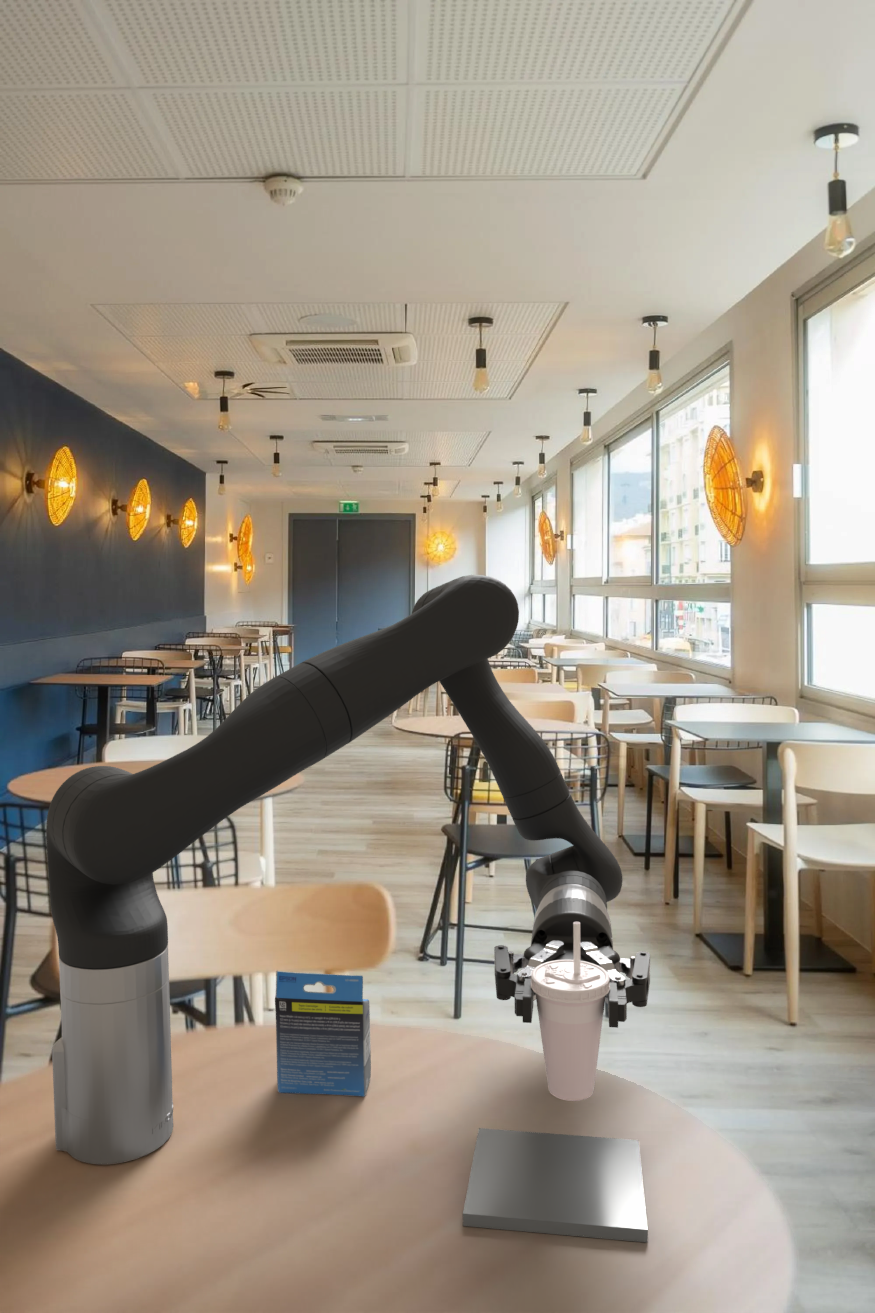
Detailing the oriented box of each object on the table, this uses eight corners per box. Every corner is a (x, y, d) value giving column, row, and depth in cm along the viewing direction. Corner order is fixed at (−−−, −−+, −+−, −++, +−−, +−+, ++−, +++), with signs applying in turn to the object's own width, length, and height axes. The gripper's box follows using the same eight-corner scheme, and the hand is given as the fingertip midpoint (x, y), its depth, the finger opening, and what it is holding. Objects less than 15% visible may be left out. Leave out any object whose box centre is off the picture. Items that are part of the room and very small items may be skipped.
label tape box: (372, 1079, 99) (371, 959, 98) (365, 1100, 95) (363, 976, 94) (286, 1074, 100) (284, 956, 99) (275, 1095, 96) (273, 972, 95)
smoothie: (609, 1114, 77) (609, 940, 75) (527, 1106, 78) (525, 935, 77) (611, 1072, 83) (611, 910, 82) (535, 1065, 84) (534, 906, 83)
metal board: (462, 1226, 76) (462, 1213, 76) (478, 1138, 88) (478, 1128, 88) (647, 1242, 74) (647, 1230, 74) (638, 1151, 86) (638, 1140, 86)
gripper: (496, 893, 95) (478, 964, 78) (649, 899, 93) (664, 972, 76) (497, 969, 95) (479, 1054, 79) (648, 976, 93) (663, 1065, 77)
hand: (570, 1013), depth 77 cm, fingers closed on smoothie, 6 cm apart
